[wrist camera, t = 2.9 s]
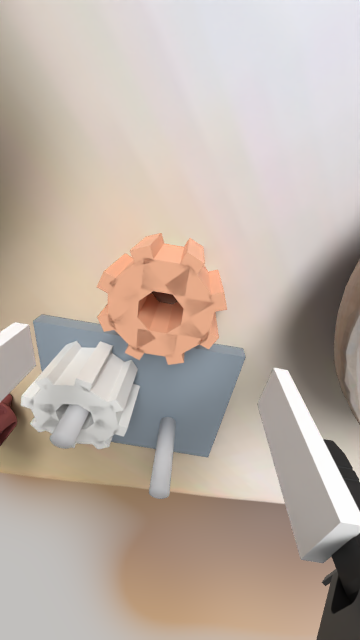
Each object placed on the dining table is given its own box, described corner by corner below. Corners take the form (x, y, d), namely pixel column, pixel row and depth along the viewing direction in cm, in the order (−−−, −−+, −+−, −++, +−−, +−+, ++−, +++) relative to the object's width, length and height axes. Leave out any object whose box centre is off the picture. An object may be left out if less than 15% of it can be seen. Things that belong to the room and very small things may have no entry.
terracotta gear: (120, 225, 20) (95, 235, 15) (230, 245, 20) (240, 261, 15) (117, 321, 25) (97, 353, 20) (206, 337, 25) (209, 371, 20)
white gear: (43, 339, 24) (6, 375, 20) (134, 341, 24) (118, 379, 19) (66, 404, 29) (40, 446, 24) (143, 407, 28) (131, 451, 24)
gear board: (41, 314, 25) (-37, 375, 16) (243, 348, 25) (265, 425, 17) (58, 422, 33) (12, 498, 25) (207, 447, 34) (211, 529, 26)
